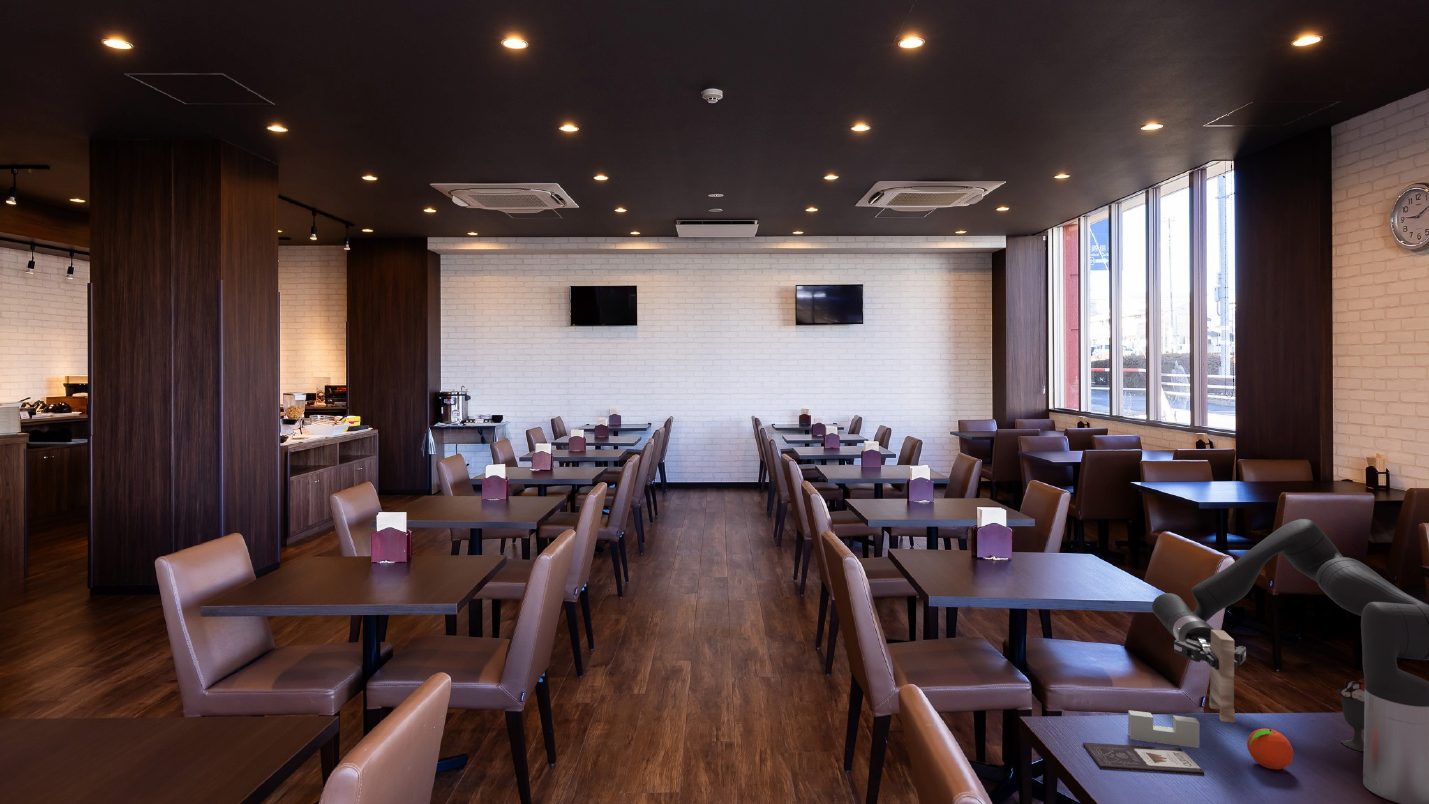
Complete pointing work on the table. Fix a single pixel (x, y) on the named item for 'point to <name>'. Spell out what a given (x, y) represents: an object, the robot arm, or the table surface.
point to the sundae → (1354, 710)
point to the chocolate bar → (1142, 758)
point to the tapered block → (1222, 676)
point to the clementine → (1270, 748)
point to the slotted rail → (1163, 730)
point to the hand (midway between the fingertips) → (1225, 665)
